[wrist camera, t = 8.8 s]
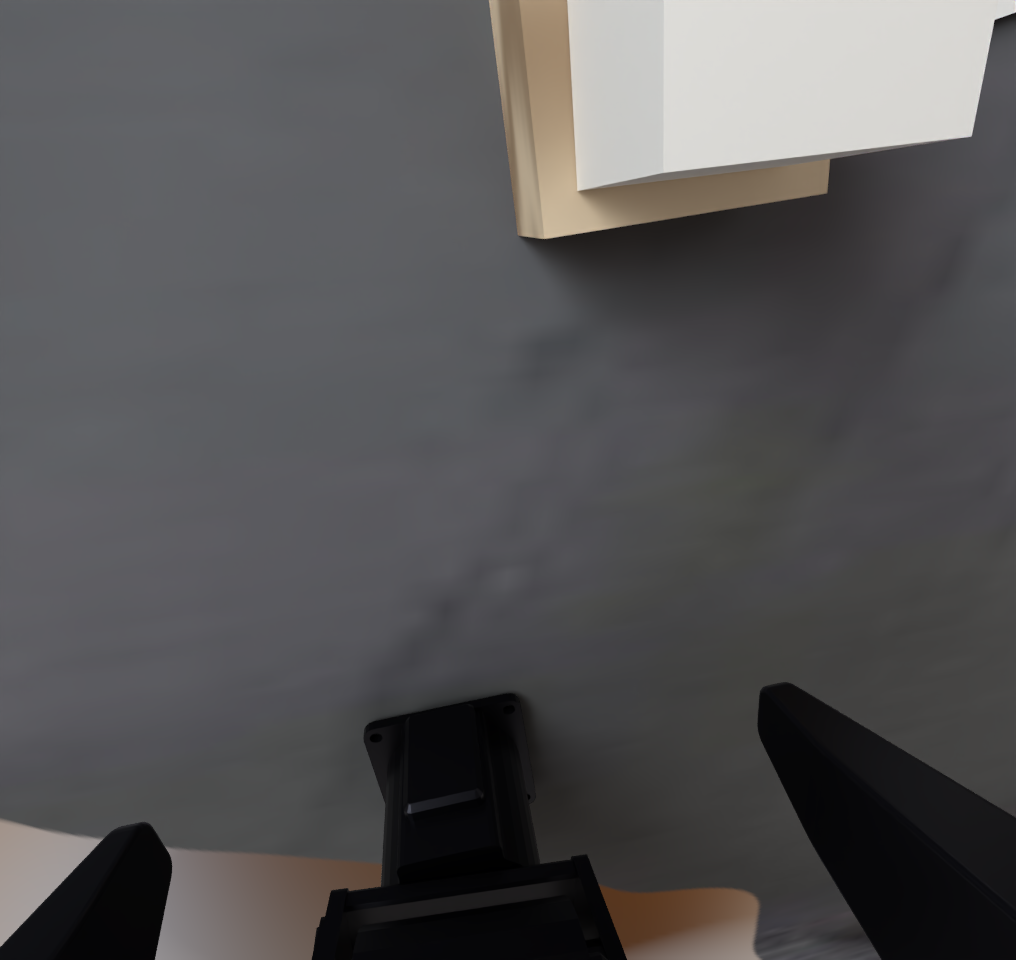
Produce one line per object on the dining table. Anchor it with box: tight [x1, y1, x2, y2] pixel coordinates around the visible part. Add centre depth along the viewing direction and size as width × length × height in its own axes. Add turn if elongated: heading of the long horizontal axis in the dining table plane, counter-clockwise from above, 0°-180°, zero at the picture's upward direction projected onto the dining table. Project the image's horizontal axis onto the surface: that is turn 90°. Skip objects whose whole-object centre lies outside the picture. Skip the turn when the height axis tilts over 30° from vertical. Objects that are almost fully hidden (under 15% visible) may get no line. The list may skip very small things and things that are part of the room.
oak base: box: [489, 0, 830, 239], centre depth 14 cm, size 7×7×4 cm
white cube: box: [567, 0, 998, 191], centre depth 10 cm, size 5×5×5 cm
